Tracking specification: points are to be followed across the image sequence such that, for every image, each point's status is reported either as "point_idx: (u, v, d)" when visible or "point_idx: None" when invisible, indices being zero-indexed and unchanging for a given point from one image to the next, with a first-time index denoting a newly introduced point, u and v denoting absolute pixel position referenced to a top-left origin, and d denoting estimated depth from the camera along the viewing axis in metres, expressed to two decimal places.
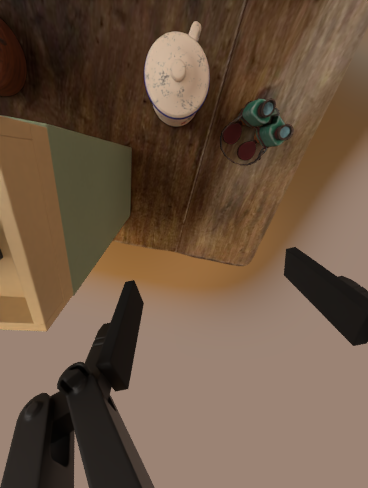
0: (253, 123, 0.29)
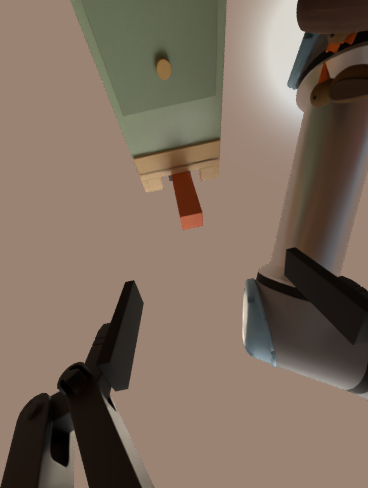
0: None
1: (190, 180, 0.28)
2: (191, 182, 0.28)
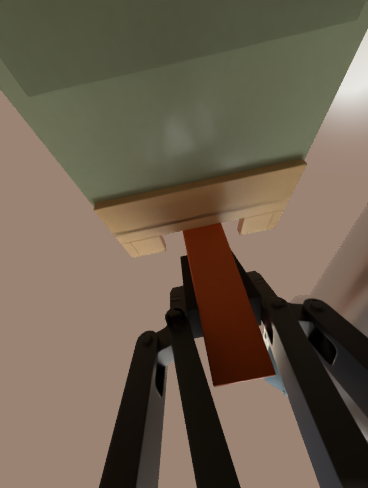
0: None
1: (226, 251, 0.13)
2: (229, 256, 0.12)
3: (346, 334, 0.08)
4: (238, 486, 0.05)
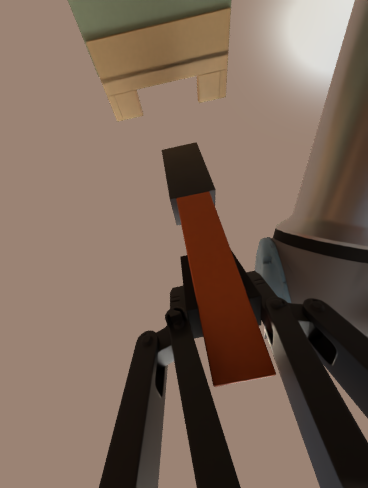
0: None
1: (226, 251, 0.13)
2: (229, 256, 0.12)
3: (346, 334, 0.08)
4: (238, 486, 0.05)
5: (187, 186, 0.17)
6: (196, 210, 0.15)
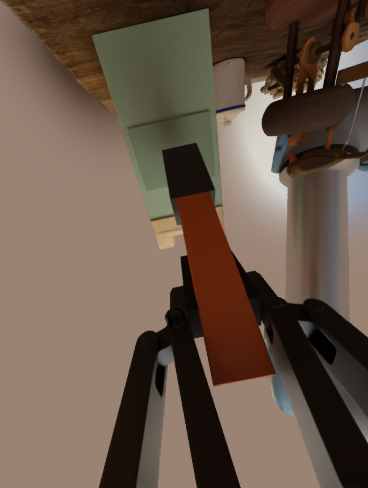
0: None
1: (226, 251, 0.13)
2: (229, 256, 0.12)
3: (346, 334, 0.08)
4: (238, 486, 0.05)
5: (187, 186, 0.17)
6: (196, 210, 0.15)
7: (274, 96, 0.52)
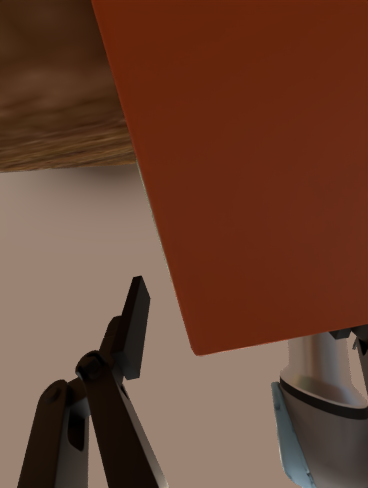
0: None
1: None
2: None
3: None
4: None
5: None
6: None
7: None
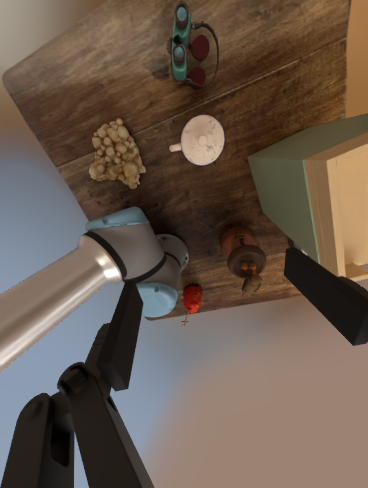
0: None
1: None
2: None
3: None
4: None
5: None
6: None
7: (105, 132, 0.37)
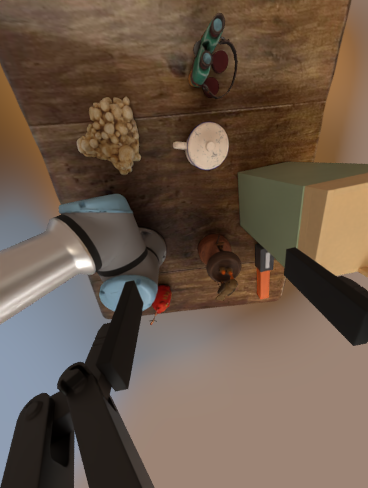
0: None
1: (257, 279, 0.66)
2: None
3: None
4: None
5: None
6: None
7: (108, 106, 0.34)
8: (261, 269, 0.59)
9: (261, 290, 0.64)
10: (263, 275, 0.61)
